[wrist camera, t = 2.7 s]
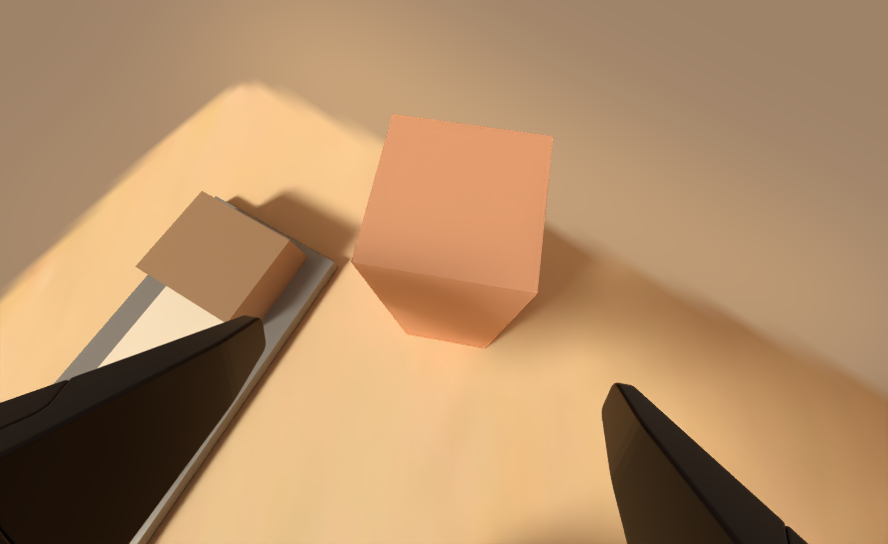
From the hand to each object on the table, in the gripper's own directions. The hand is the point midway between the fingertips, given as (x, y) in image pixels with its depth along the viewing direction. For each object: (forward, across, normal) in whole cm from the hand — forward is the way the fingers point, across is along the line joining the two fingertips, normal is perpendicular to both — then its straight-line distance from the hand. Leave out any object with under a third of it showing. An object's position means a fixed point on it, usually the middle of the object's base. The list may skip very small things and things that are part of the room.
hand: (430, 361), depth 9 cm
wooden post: (+11, 0, +5) cm, 12 cm away
